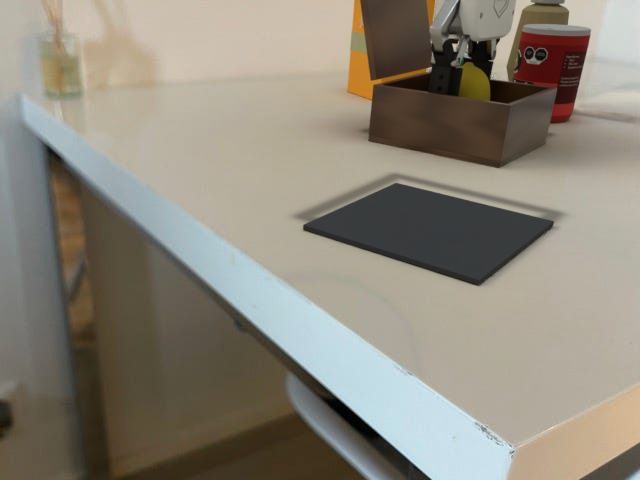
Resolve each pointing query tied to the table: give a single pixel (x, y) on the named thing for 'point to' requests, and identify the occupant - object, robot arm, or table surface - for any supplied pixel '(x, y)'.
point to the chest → (462, 119)
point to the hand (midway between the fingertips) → (457, 99)
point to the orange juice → (359, 59)
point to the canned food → (553, 62)
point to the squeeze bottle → (537, 13)
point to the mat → (433, 230)
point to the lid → (396, 36)
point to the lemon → (474, 83)
